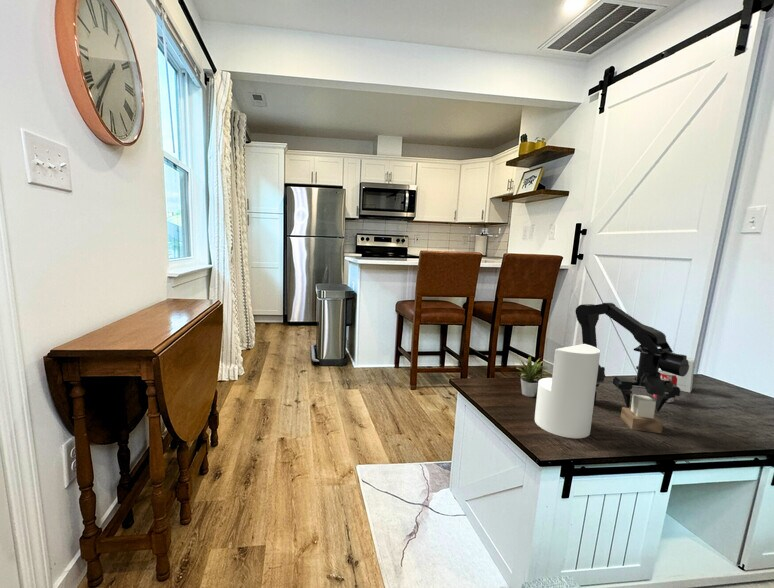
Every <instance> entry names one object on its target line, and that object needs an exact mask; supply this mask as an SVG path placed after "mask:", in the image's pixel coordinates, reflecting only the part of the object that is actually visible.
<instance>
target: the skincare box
mask: <svg viewBox="0 0 774 588" xmlns="http://www.w3.org/2000/svg"><path fill="white" fill-rule="evenodd" d="M687 360H688V363H689V370H688V372H687V374H686V375H685V376H683V377H682V376H679V375H676V377H677V387H679V388H680V390H681V392H685V393H689V394H690V393H691V392H692V390H693V383H694V382H693V380H694V370H695V365H696V364H695V363H696V358H691V357H687Z"/></svg>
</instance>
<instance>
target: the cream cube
mask: <svg viewBox="0 0 774 588" xmlns="http://www.w3.org/2000/svg"><path fill="white" fill-rule="evenodd" d="M630 405H631V406H630V408H631V411H632V412H633V413H634V414H635V415H636V416H637V417H645V418H654V415H655V412H656V400H654V399H653V398H651V397H650V396H649V395H641V394H632V397H631V402H630Z"/></svg>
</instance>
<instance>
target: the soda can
mask: <svg viewBox="0 0 774 588" xmlns="http://www.w3.org/2000/svg"><path fill="white" fill-rule="evenodd" d="M658 372H660V375H661V376H660V378H661V380H664V381H665V380H666V381H672V383H673V384H674V385H676V386H677V377H676V375H675V374H672V373H668V372H665V371H662V370H659V371H658ZM653 398H654V399H656V398H657V395H656V394H654V395H653ZM674 400H675V398H670V399H668V400H667V401H666V402H665V403H664V404H670V403H673V402H675V401H674Z"/></svg>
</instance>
